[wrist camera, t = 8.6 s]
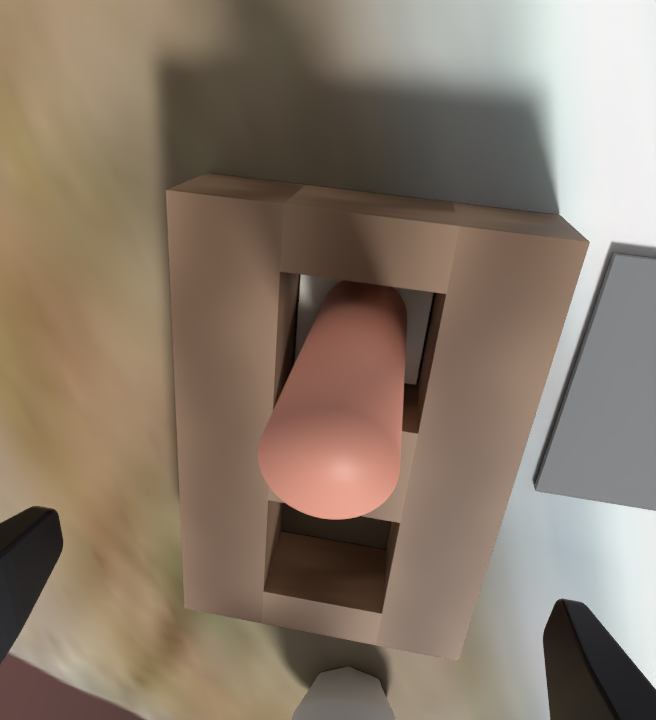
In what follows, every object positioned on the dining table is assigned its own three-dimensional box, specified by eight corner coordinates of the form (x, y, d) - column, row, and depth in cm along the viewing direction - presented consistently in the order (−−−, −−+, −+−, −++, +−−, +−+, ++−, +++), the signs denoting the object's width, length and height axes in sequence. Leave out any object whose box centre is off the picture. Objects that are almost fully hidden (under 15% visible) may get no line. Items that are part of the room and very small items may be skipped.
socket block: (560, 215, 18) (589, 242, 15) (453, 593, 26) (458, 661, 23) (206, 172, 19) (165, 189, 16) (210, 549, 27) (184, 608, 24)
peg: (413, 282, 19) (410, 413, 11) (400, 362, 21) (389, 529, 13) (324, 270, 20) (260, 390, 12) (317, 350, 21) (255, 506, 13)
